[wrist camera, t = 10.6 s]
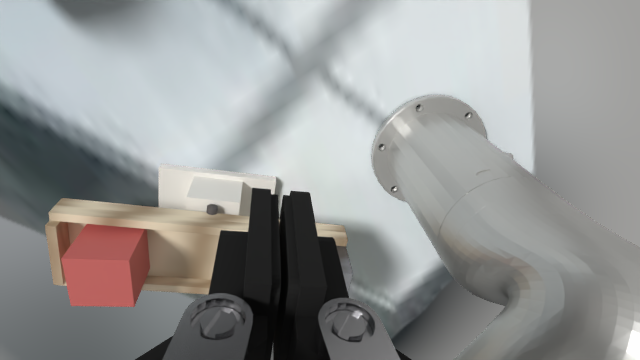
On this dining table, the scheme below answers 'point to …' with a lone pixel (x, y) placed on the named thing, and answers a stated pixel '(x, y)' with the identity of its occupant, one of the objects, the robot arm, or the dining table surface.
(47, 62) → the dining table surface
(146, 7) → the dining table surface
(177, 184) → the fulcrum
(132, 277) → the block
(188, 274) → the beam
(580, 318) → the robot arm
